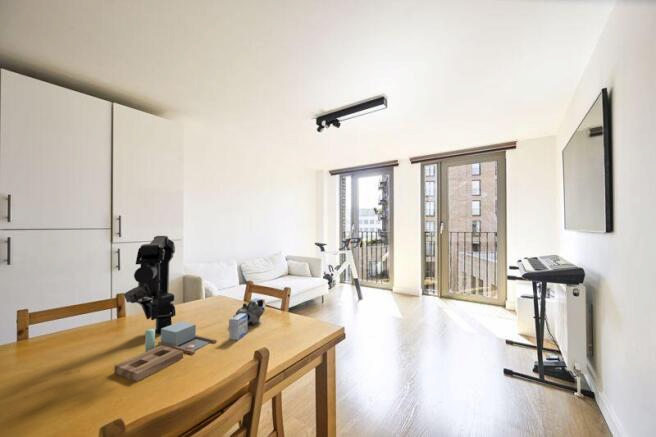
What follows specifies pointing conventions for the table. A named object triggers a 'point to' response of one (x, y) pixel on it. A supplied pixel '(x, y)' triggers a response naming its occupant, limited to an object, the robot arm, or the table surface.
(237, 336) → the medicine box
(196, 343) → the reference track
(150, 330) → the teal peg
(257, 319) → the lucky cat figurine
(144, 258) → the robot arm
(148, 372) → the board
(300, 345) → the table surface
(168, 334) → the cover
